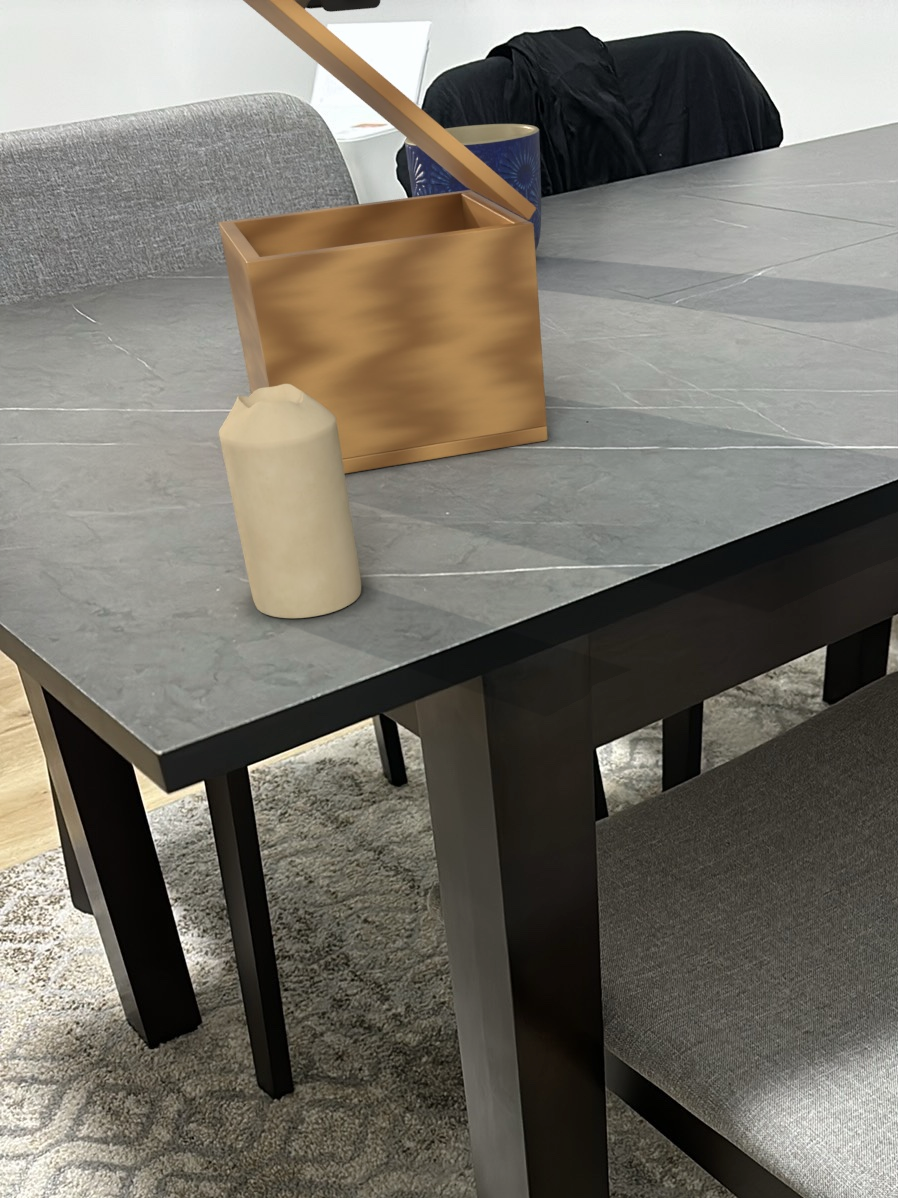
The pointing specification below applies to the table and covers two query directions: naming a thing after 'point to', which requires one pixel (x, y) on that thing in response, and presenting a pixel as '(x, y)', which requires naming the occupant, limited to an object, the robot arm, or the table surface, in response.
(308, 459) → the candle
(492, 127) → the planter
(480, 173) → the lid
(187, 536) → the table surface
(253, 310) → the chest
